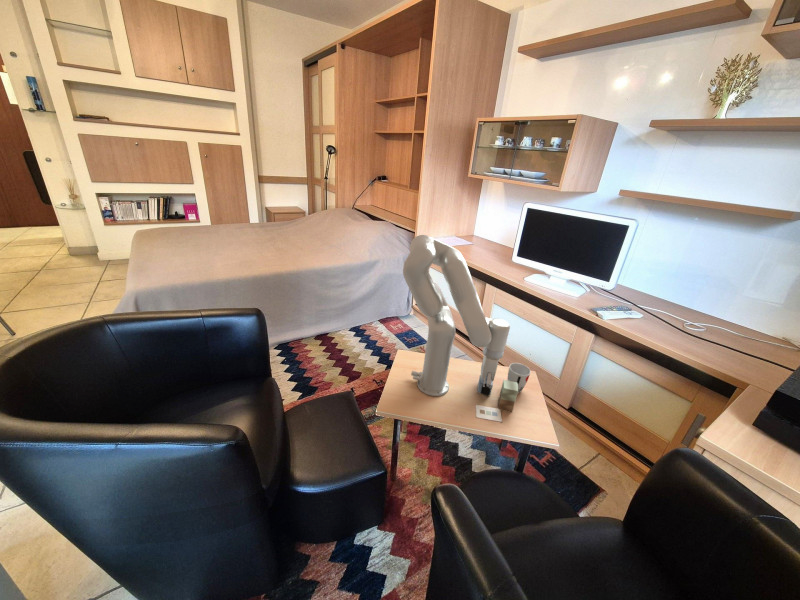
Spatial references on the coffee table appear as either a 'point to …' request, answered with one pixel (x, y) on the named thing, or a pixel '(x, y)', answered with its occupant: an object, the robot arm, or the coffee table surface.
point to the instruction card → (488, 413)
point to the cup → (519, 374)
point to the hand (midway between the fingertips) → (485, 386)
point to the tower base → (505, 404)
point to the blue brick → (482, 384)
